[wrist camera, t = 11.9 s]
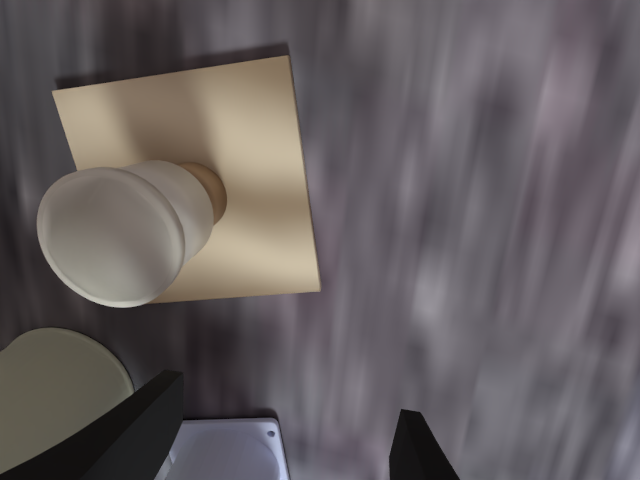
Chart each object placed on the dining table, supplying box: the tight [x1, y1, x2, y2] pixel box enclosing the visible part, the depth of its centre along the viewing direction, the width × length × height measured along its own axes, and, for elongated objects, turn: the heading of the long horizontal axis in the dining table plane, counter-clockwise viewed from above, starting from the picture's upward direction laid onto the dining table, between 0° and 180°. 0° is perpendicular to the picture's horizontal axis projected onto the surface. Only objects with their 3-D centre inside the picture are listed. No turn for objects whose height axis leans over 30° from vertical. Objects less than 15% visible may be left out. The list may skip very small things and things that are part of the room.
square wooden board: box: [52, 55, 321, 304], centre depth 19 cm, size 12×12×4 cm
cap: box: [37, 160, 214, 308], centre depth 15 cm, size 5×5×4 cm
